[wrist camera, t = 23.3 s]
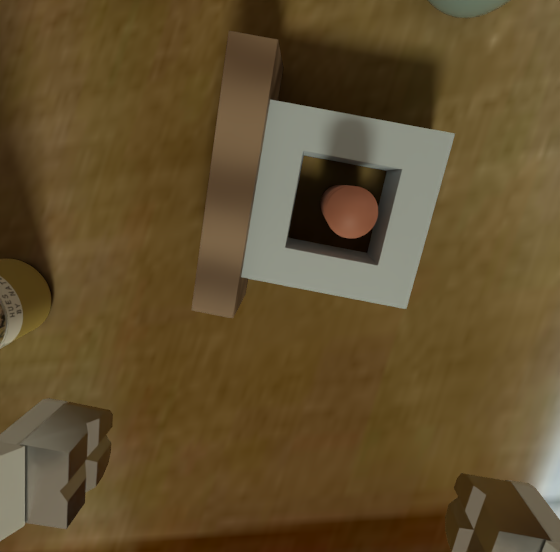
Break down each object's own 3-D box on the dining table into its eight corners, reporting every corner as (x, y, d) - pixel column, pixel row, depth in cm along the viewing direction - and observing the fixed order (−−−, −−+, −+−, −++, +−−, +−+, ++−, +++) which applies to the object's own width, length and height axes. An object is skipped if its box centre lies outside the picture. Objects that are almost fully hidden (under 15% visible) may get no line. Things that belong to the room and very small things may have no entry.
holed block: (275, 112, 30) (270, 99, 25) (430, 141, 30) (455, 133, 25) (250, 262, 33) (241, 277, 28) (391, 290, 33) (406, 309, 28)
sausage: (324, 181, 31) (331, 181, 22) (361, 188, 31) (383, 191, 22) (316, 218, 32) (321, 233, 23) (353, 225, 32) (371, 242, 23)
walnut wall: (244, 60, 29) (228, 30, 23) (283, 67, 29) (277, 39, 23) (211, 287, 34) (191, 310, 28) (245, 294, 34) (232, 318, 28)
